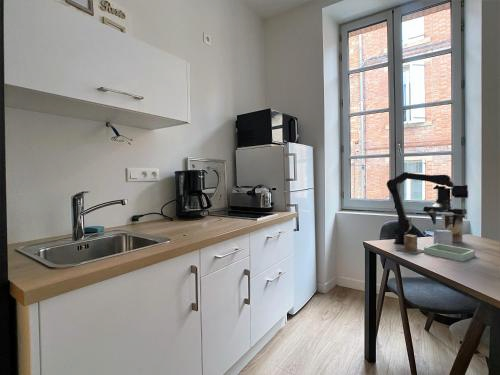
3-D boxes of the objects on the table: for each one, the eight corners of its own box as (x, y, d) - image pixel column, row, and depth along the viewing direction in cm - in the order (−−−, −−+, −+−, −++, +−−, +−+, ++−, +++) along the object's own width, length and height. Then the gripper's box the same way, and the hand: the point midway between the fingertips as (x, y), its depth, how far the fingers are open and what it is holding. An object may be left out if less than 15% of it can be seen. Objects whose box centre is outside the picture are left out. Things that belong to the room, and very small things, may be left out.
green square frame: (424, 253, 139) (423, 247, 139) (437, 248, 146) (437, 243, 146) (462, 261, 124) (462, 255, 124) (475, 256, 131) (475, 250, 131)
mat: (396, 250, 145) (396, 249, 145) (406, 247, 150) (406, 246, 150) (415, 254, 136) (415, 253, 136) (425, 251, 141) (425, 250, 141)
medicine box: (447, 244, 154) (447, 229, 154) (452, 246, 150) (452, 231, 149) (433, 244, 155) (433, 229, 154) (437, 246, 150) (437, 231, 150)
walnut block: (404, 249, 144) (404, 235, 144) (408, 248, 146) (408, 234, 146) (412, 251, 140) (412, 236, 140) (417, 250, 142) (417, 235, 142)
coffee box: (444, 241, 161) (444, 215, 160) (441, 239, 167) (441, 213, 166) (463, 242, 158) (463, 215, 157) (458, 239, 164) (458, 214, 163)
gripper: (418, 197, 148) (418, 225, 148) (457, 199, 132) (457, 230, 132) (428, 196, 153) (428, 222, 154) (467, 198, 137) (467, 227, 138)
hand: (443, 225), depth 144 cm, fingers open, 9 cm apart
